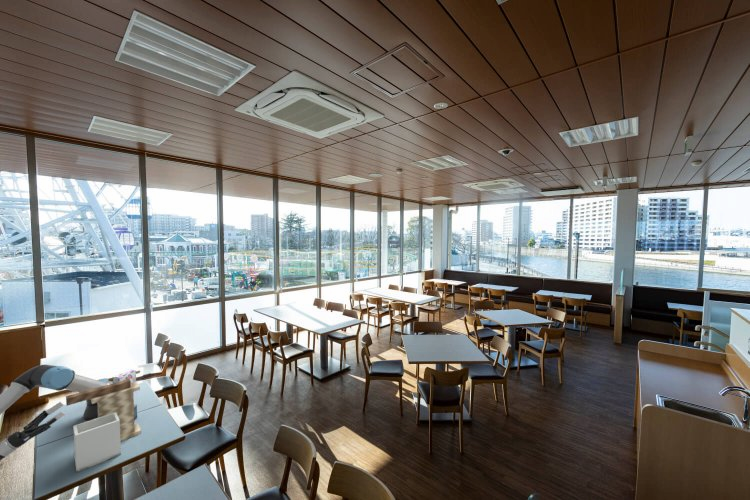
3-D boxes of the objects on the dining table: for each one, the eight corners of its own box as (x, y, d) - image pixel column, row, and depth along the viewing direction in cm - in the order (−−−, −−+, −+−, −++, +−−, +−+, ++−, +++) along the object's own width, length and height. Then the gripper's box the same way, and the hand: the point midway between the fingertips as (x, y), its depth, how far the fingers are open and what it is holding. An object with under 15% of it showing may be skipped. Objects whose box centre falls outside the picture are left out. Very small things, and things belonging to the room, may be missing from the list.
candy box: (119, 398, 232) (118, 377, 231) (113, 398, 233) (112, 376, 232) (136, 389, 245) (136, 369, 245) (130, 389, 247) (130, 369, 246)
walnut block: (66, 405, 169) (66, 398, 169) (66, 403, 172) (66, 396, 171) (130, 387, 190) (130, 381, 189) (129, 385, 192) (129, 378, 192)
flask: (134, 416, 209) (133, 401, 209) (138, 416, 210) (138, 401, 209) (125, 425, 200) (124, 409, 200) (130, 424, 201) (129, 408, 200)
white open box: (76, 472, 160) (75, 435, 159) (74, 461, 168) (73, 425, 167) (120, 454, 173) (119, 420, 172) (117, 444, 181) (116, 411, 181)
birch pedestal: (93, 451, 176) (91, 400, 174) (91, 443, 182) (89, 394, 181) (141, 433, 192) (139, 386, 191) (137, 426, 199) (136, 381, 197)
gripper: (4, 450, 146) (58, 412, 159) (7, 428, 163) (56, 395, 176) (17, 459, 149) (69, 421, 162) (19, 436, 166) (66, 403, 179)
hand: (62, 407), depth 169 cm, fingers open, 13 cm apart
